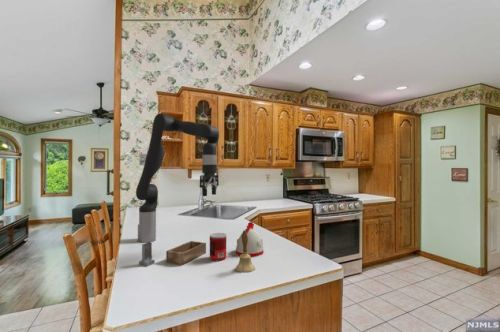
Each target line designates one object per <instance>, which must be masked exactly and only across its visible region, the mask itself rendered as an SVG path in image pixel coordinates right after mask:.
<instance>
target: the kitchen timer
mask: <svg viewBox="0 0 500 332" xmlns="http://www.w3.org/2000/svg"><path fill="white" fill-rule="evenodd" d="M254 226H255V223H254V222H253V221H251V222H248V223H247V225H246V228H245V230H246V232H247V235H248V242H247V254H249V255H250V256H251V258H254V257H255V258H256V257H259V256H261V255H263V254H264V240H263V238H261V236H260V234H259V233H258V232H257V231H256V230H255V229H254ZM242 234H243V232H242V233H241V234H240V235H239V237H238V238H237V239H236V246H235V253H236V255H237V256H239V257H240V255H242V254H243V243H242Z"/></svg>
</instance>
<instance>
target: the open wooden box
mask: <svg viewBox="0 0 500 332" xmlns="http://www.w3.org/2000/svg"><path fill="white" fill-rule="evenodd" d="M165 252H166V254H165V255H166V257H165V259H166V260H165V261H166V263H168V264H172V265H178V266H185V264H186V265H187V264H188V263H190V262H192V261H194V260H196V259H198V258H200V257H201V256H203V255H206V254H207V243H206V242H202V241H195V240H190V241H188V242H185V243H183V244H180V245H178V246H175V247H173V248H170V249H168V250H166V251H165Z"/></svg>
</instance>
